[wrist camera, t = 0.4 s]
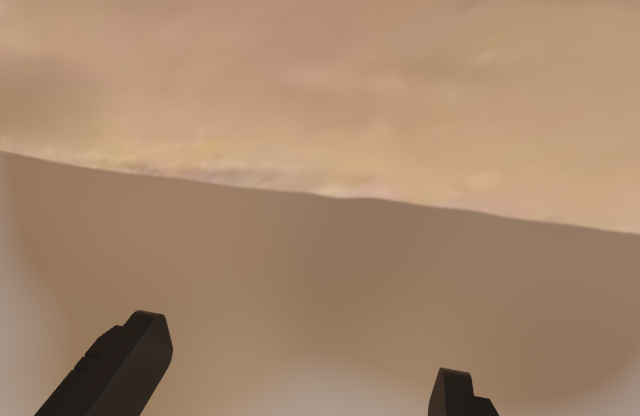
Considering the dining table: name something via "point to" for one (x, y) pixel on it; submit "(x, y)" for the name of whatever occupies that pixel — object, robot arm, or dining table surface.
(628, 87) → the dining table surface
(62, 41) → the dining table surface
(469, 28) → the dining table surface
